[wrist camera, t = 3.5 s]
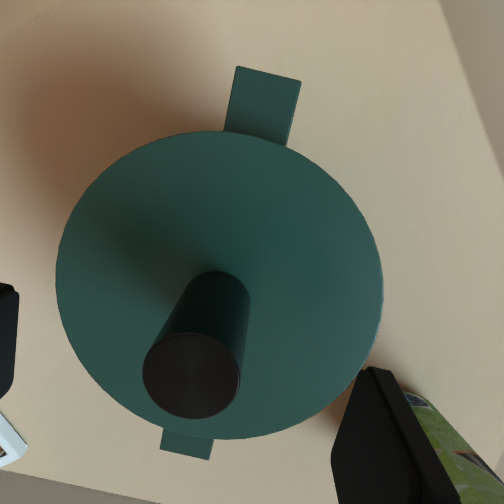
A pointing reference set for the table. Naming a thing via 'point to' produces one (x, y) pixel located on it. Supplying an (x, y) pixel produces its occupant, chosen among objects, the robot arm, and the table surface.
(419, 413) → the beverage can
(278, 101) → the pot
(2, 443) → the photo frame
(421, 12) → the table surface
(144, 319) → the lid
